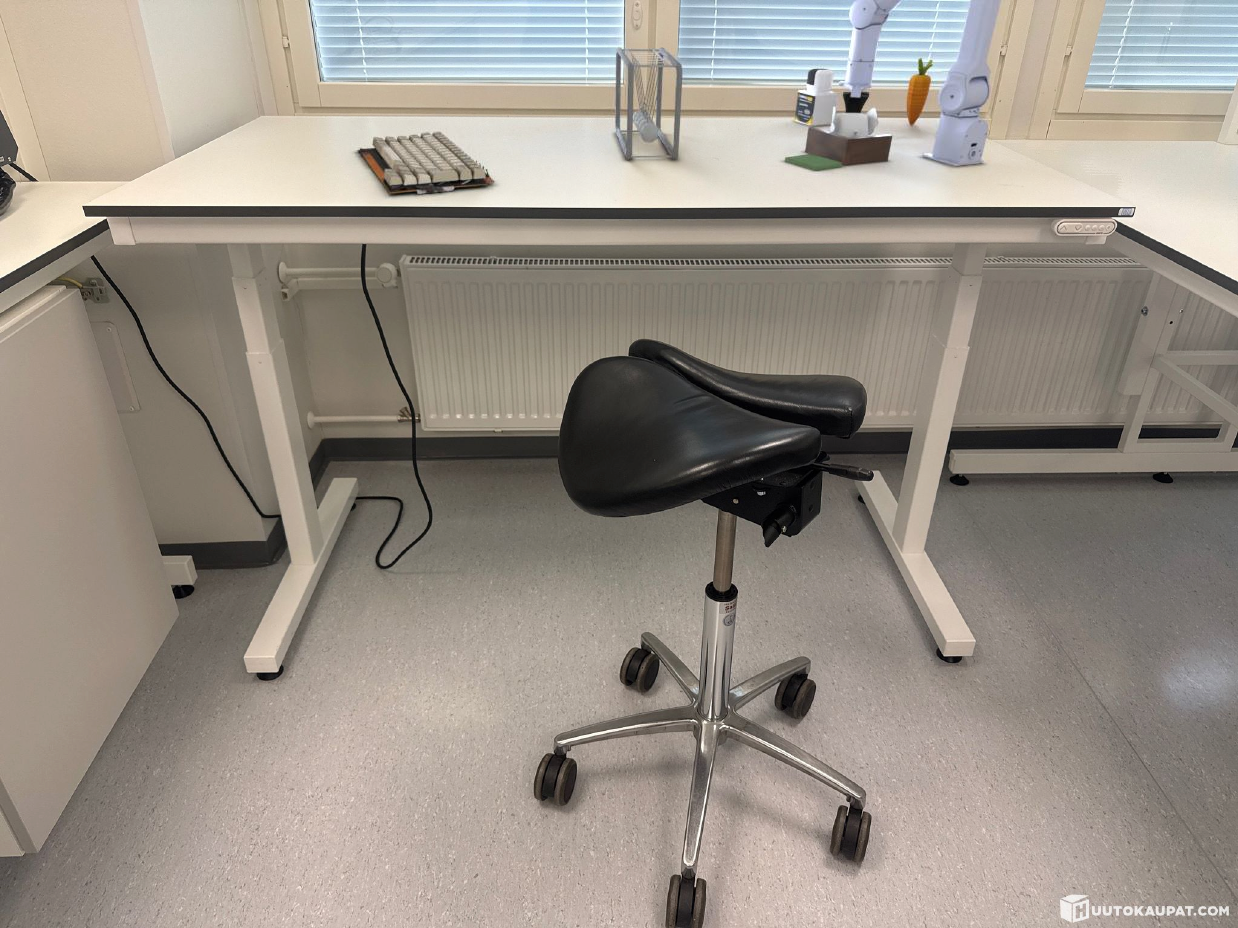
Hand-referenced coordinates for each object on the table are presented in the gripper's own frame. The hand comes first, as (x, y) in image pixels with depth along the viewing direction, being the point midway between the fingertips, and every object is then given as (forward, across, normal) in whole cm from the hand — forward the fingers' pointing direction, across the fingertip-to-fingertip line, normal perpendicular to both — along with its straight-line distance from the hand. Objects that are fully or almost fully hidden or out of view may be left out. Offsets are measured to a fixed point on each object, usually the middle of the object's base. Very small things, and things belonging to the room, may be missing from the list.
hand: (850, 127), depth 184 cm
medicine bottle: (+3, -17, -9) cm, 20 cm away
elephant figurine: (+3, +12, 0) cm, 13 cm away
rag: (+3, +27, -6) cm, 28 cm away
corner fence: (+3, +17, 0) cm, 17 cm away
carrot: (+3, -22, +14) cm, 27 cm away
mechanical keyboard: (+3, +56, -78) cm, 96 cm away
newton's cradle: (+3, +22, -42) cm, 48 cm away
